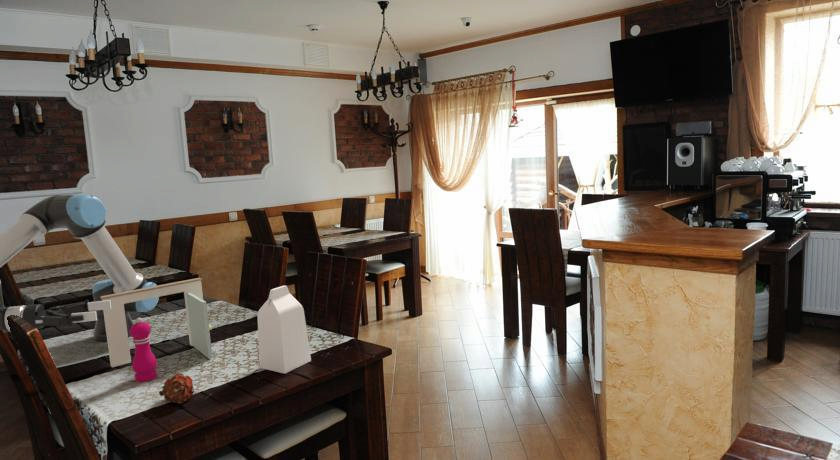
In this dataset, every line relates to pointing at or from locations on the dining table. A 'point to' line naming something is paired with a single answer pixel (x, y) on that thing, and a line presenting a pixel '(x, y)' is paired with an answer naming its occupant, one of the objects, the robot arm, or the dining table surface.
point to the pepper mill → (143, 352)
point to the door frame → (117, 319)
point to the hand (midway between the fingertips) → (103, 309)
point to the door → (199, 324)
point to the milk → (282, 332)
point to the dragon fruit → (177, 389)
